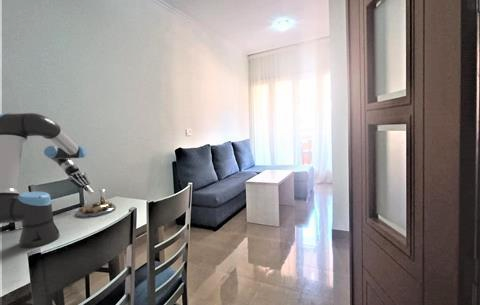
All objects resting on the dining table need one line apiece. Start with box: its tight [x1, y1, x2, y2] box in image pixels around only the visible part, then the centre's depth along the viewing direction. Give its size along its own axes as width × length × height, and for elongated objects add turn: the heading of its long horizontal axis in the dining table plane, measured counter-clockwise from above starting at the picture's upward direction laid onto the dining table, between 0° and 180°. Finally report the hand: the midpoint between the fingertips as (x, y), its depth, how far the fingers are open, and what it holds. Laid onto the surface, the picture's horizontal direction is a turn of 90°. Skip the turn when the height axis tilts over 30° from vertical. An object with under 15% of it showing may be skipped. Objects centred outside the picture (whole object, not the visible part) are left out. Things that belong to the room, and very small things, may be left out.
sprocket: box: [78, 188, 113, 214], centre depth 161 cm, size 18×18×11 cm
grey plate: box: [75, 203, 117, 219], centre depth 162 cm, size 22×22×2 cm
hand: (92, 193), depth 169 cm, fingers closed
